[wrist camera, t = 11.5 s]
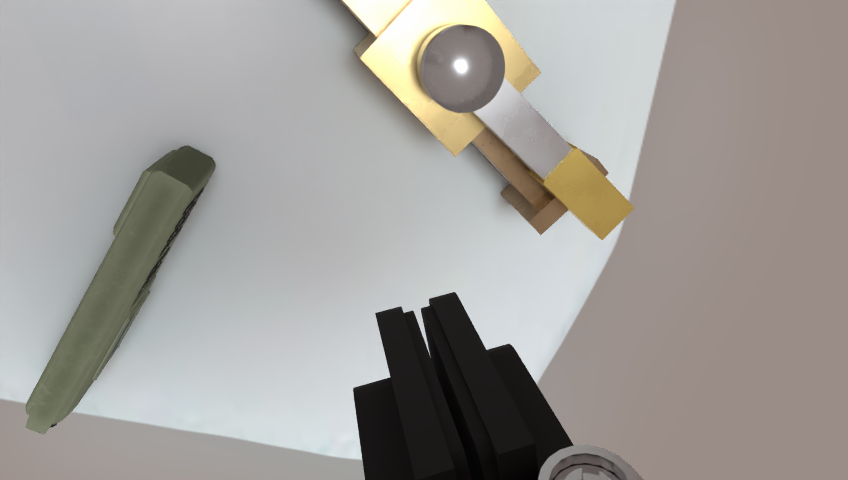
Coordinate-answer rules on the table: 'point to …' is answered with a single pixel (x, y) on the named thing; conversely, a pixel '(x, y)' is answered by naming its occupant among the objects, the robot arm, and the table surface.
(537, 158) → the lever
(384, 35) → the valve body
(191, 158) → the handheld radio
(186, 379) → the table surface
